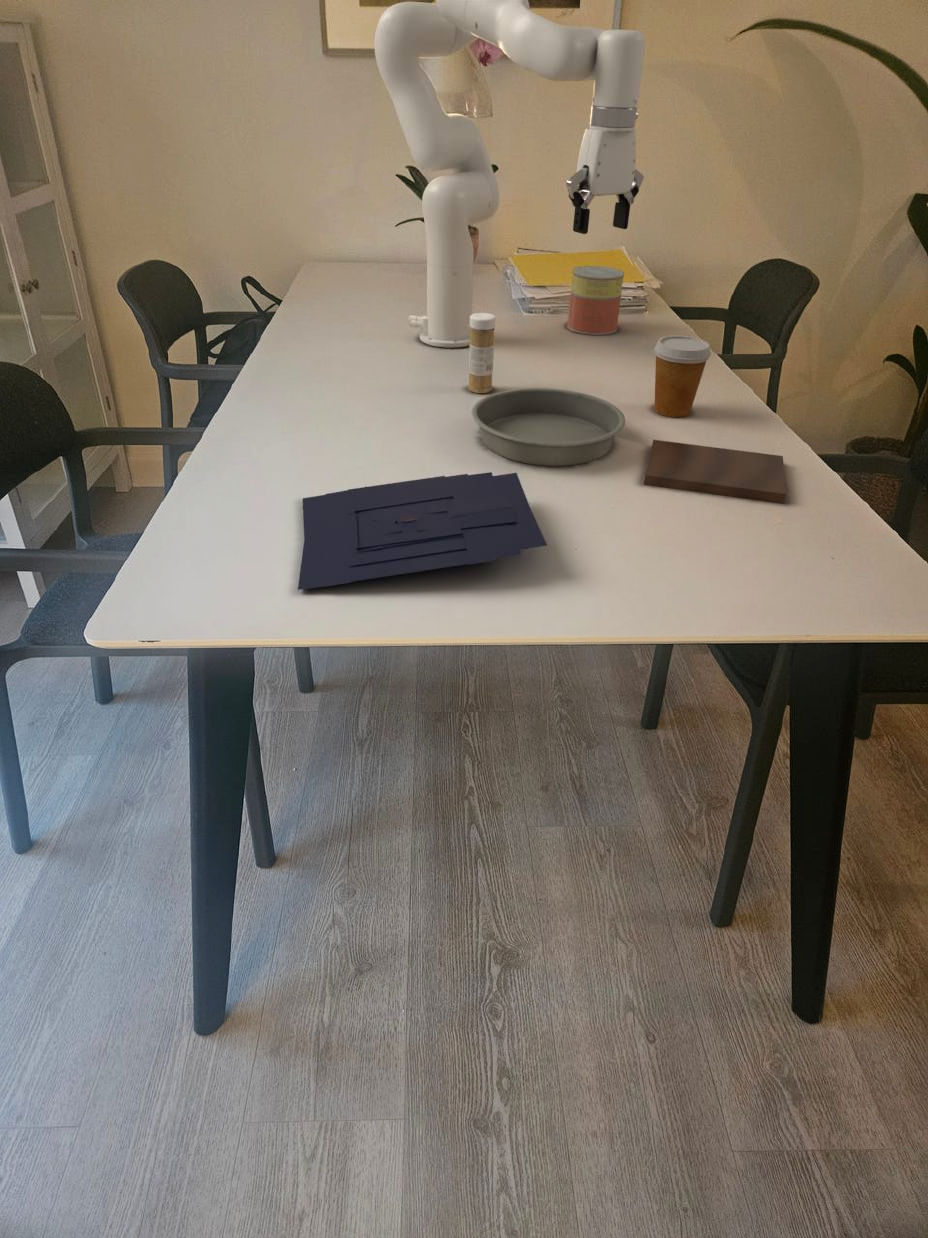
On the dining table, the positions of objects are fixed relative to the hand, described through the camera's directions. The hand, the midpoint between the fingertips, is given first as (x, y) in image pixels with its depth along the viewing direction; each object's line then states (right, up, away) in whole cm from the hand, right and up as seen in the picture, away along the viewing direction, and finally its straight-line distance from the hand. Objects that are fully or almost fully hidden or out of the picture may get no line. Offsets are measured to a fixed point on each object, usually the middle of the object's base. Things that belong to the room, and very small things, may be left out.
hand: (600, 229), depth 152 cm
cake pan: (-11, -40, -12) cm, 43 cm away
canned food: (+5, -4, +41) cm, 42 cm away
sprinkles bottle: (-21, -27, +6) cm, 35 cm away
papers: (-31, -59, -41) cm, 78 cm away
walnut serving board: (+14, -47, -22) cm, 54 cm away
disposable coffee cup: (+13, -33, 0) cm, 35 cm away
